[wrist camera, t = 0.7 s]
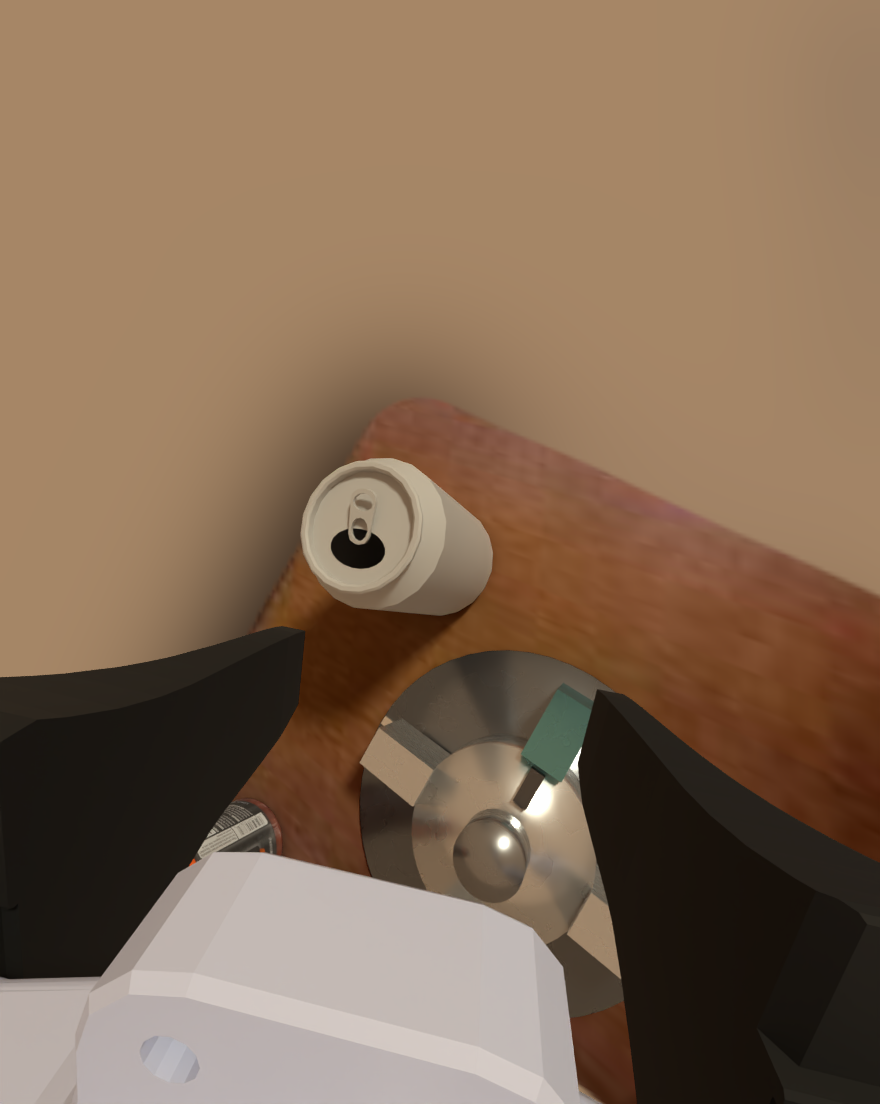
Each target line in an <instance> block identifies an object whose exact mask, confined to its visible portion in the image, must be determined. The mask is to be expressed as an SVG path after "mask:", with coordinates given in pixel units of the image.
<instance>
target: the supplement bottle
mask: <svg viewBox="0 0 880 1104" xmlns="http://www.w3.org/2000/svg"><path fill="white" fill-rule="evenodd" d="M282 848H283V840H282V833H281V828H280V825H279V823H278V820H277V818H276V817H275V815H274V814H273V812H272V811H271V810H270V809H269V807H268V806H266V805H265V804H264V803H262V802H260V801H258V800H255V799H250V798H245V799H240V800H236V801H234V802H231V803H230V804H229V806H228V807H227V808H226V810H225V811H224V812H223V814H222V815H221V817H220V818H219V819H218V821H217V822H216V824H215V825H214V827H213V828H212V830H211V831H210V833H209V834H208V836H207V838H206V839H205V841H204V842H203V844H202V846H201V847H200V849H199V851H198V852H197V854H196V856H195V857H194V859H193V860H192V862H191V864H190V865H189V866H191V865H192V864H194V863H196V862H198V861H199V860H201V859H203V858H204V857H206V856H208V855H209V854H211V853H213V852H267V853H271V854H275V855H279V856H282Z"/></svg>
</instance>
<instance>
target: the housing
mask: <svg viewBox="0 0 880 1104" xmlns="http://www.w3.org/2000/svg"><path fill="white" fill-rule="evenodd" d="M563 683H565V684H566V685H568V686H569V687H571V688H573V689H574V690H576V691H578V692H579V693H581V694H582V695H584V696H586V697H587V698H589V699H590V700H592V701H594V699H595V695H596V691H597V689H599V690H604V691H609V692H614V691H613V690H612V689H611V688H609V687H608V686H606V685H605V684H603V683H602V682H600V681H599V680H597V679H596V678H595V677H593V676H591V675H590V674H588V673H586V672H584V671H582V670H580V669H578V668H576V667H574V666H572V665H570V664H567V663H564V662H562V661H559V660H556V659H554V658H551V657H547V656H543V655H538V654H534V653H530V652H520V651H510V650H506V651H487V652H481V653H475V654H470V655H466V656H463V657H460V658H457V659H454V660H451V661H448V662H446V663H444V664H442V665H440V666H438V667H436V668H434V669H432V670H431V671H429V672H428V673H426V674H425V675H423V676H422V677H420V678H419V679H418V680H416V681H415V682H414V683H413V684H412V685H411V686H410V687H409V688H407V689H406V690H405V691H404V692H403V693H402V694H401V696H400V697H399V698H398V699H397V700H396V701H395V703H394V704H393V705H392V706H391V708H390V709H389V711H388V712H387V714H386V715H385V717H384V719H383V720H382V722H381V723H380V725H379V728H380V727H382V726H385V725H387V724H389V723H392V722H394V721H397V720H399V719H402V718H403V719H404V720H405V721H407V722H408V723H409V724H411V725H412V726H413V727H415V728H416V729H417V730H419V731H420V732H421V733H423V734H424V735H425V736H427V737H428V738H429V739H431V740H432V741H433V742H435V743H436V744H437V745H439V746H440V747H441V748H443V749H444V750H445V751H447V752H448V753H449V754H452V753H453V752H455V751H456V750H457V749H459V748H460V747H462V746H463V745H465V744H466V743H468V742H470V741H472V740H474V739H477V738H480V737H484V736H487V735H495V734H508V735H515V736H520V737H523V738H527V739H529V738H530V737H531V735H532V733H533V731H534V730H535V728H536V726H537V724H538V723H539V721H540V719H541V717H542V716H543V714H544V712H545V710H546V708H547V707H548V705H549V703H550V701H551V700H552V698H553V696H554V694H555V693H556V691H557V689H558V688H559V687H560V686H561V685H562V684H563ZM614 693H616V692H614ZM379 728H378V729H379ZM377 731H378V730H377ZM581 748H582V747H581ZM580 752H581V749H580V751H579V753H578V754H577V756H576V758H575V760H574V761H573V763H572V765H571V767H570V769H571V770H572V771H573V772H574V774H575V775H576V776H577V778H578V779H579V773H578V759H579V756H580ZM414 807H415V805H414V806H413V807H412V806H411V805H410V804H409V803H407V802H406V801H405V800H404V799H403V798H401V797H400V796H399V795H398V794H397V793H395V792H394V791H393V790H392V789H391V788H389V787H388V786H387V785H386V784H385V783H383V782H382V781H381V780H380V779H378V778H377V777H376V776H375V775H374V774H372V773H371V772H370V771H369V770H368V769H366V768H365V767H364V771H363V776H362V783H361V794H360V823H361V831H362V839H363V845H364V849H365V854H366V858H367V862H368V866H369V869H370V872H371V875H372V878H376V879H381V880H385V881H389V882H393V883H397V884H402V885H406V886H410V887H414V888H419V889H423V890H427V889H426V887H425V885H424V883H423V881H422V879H421V876H420V873H419V871H418V868H417V865H416V861H415V857H414V852H413V845H412V817H413V812H414ZM530 856H531V847H530V841H529V838H528V835H527V833H526V831H525V829H524V827H523V826H522V825H521V823H520V822H519V821H518V820H517V819H516V818H515V817H514V816H512V815H511V814H509V813H507V812H505V811H503V810H499V809H485V810H482V811H480V812H478V813H477V814H475V815H474V816H473V817H472V818H471V819H470V821H469V822H468V823H467V825H466V826H465V827H464V829H463V830H462V832H461V833H460V834H459V836H458V837H457V839H456V841H455V844H454V849H453V864H454V869H455V872H456V875H457V877H458V879H459V881H460V883H461V884H462V886H463V887H464V888H465V889H466V890H467V891H468V892H469V893H470V894H471V895H472V896H474V897H475V898H477V899H479V900H481V901H484V902H488V903H500V902H504V901H506V900H508V899H510V898H511V897H513V896H514V895H515V894H516V893H517V891H518V890H519V888H520V886H521V884H522V881H523V879H524V876H525V873H526V870H527V867H528V864H529V861H530ZM596 864H597V865H598V863H597V860H596ZM567 933H568V931H567V932H566V933H564V934H563V935H562V936H560V937H559V938H557V939H555V940H554V941H552V942H550V943H548V944H545V945H546V946H547V947H548V949H549V950H550V951H551V952H552V954H553V955H554V956H555V957H556V959H557V960H558V961H559V963H560V964H561V965H562V966H563V970H564V978H565V986H566V994H567V1002H568V1010H569V1018H571V1017H580V1016H584V1015H588V1014H591V1013H595V1012H599V1011H602V1010H605V1009H607V1008H609V1007H611V1006H613V1005H615V1004H618V1003H620V1002H622V1001H624V996H623V989H622V981H621V979H620V978H619V977H618V976H616V975H615V974H614V973H613V972H612V971H610V970H609V969H608V968H607V967H606V966H604V965H603V964H602V963H601V962H600V961H598V960H597V959H596V958H595V957H593V956H592V955H591V954H590V953H589V952H587V951H586V950H585V949H584V948H583V947H581V946H580V945H579V944H578V943H577V942H575V941H574V940H573V939H572V938H571V937H569V936H568V935H567Z"/></svg>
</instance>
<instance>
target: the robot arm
mask: <svg viewBox="0 0 880 1104" xmlns="http://www.w3.org/2000/svg"><path fill="white" fill-rule="evenodd" d="M304 639H305V631H303V630H298V629H293V628H288V627H283V626H280V627H274V628H270V629H266V630H262V631H259V632H256V633H252V634H249V635H246V636H242V637H240V638H236V639H233V640H229V641H226V642H223V643H220V644H217V645H213V646H209V647H206V648H202V649H198V650H195V651H191V652H187V653H183V654H180V655H176V656H172V657H168V658H164V659H159V660H154V661H149V662H144V663H139V664H133V665H128V666H122V667H115V668H107V669H99V670H91V671H82V672H74V673H66V674H54V675H40V676H21V677H0V1104H602V1103H600V1102H598V1101H596V1100H594V1099H593V1098H591V1097H589V1096H587V1095H586V1094H584V1093H582V1092H580V1091H579V1090H578V1082H577V1074H576V1066H575V1058H574V1050H573V1042H572V1034H571V1026H570V1018H569V1010H568V1002H567V994H566V986H565V978H564V970H563V966H562V965H561V964H560V963H559V961H558V960H557V959H556V957H555V956H554V955H553V954H552V952H551V951H550V950H549V949H548V947H547V946H546V945H545V943H544V942H543V941H542V940H541V938H540V937H539V936H538V935H537V933H536V932H535V931H534V929H533V928H531V927H529V926H528V925H526V924H524V923H522V922H520V921H518V920H516V919H513V918H511V917H509V916H507V915H505V914H503V913H501V912H499V911H496V910H494V909H492V908H490V907H488V906H486V905H484V904H482V903H478V902H473V901H469V900H465V899H461V898H457V897H452V896H448V895H444V894H440V893H435V892H431V891H427V890H423V889H419V888H414V887H410V886H406V885H402V884H397V883H393V882H389V881H385V880H381V879H376V878H372V877H368V876H364V875H360V874H355V873H351V872H347V871H343V870H338V869H334V868H330V867H326V866H322V865H317V864H313V863H309V862H305V861H300V860H296V859H292V858H288V857H284V856H279V855H275V854H271V853H267V852H213V853H211V854H209V855H208V856H206V857H204V858H203V859H201V860H199V861H198V862H196V863H194V864H192V865H191V866H189V865H190V864H191V862H192V860H193V859H194V857H195V856H196V854H197V852H198V851H199V849H200V847H201V846H202V844H203V842H204V841H205V839H206V838H207V836H208V834H209V833H210V831H211V830H212V828H213V827H214V825H215V824H216V822H217V821H218V819H219V818H220V817H221V815H222V814H223V812H224V811H225V810H226V808H227V807H228V806H229V804H230V803H231V802H232V800H233V799H234V798H235V796H236V795H237V794H238V792H239V791H240V790H241V788H242V787H243V786H244V785H245V783H246V782H247V781H248V779H249V778H250V777H251V775H252V774H253V773H254V771H255V770H256V769H257V767H258V766H259V765H260V763H261V762H262V761H263V759H264V758H265V757H266V755H267V754H268V753H269V751H270V750H271V749H272V747H273V746H274V745H275V743H276V742H277V741H278V739H279V738H280V736H281V734H282V733H283V731H284V729H285V727H286V726H287V724H288V722H289V720H290V718H291V717H292V715H293V713H294V711H295V709H296V707H297V705H298V701H299V691H300V680H301V670H302V660H303V650H304ZM578 773H579V783H580V791H581V799H582V805H583V809H584V813H585V817H586V821H587V825H588V829H589V833H590V837H591V841H592V844H593V848H594V852H595V856H596V860H597V863H598V867H599V871H600V875H601V879H602V883H603V886H604V890H605V894H606V898H607V902H608V906H609V911H610V916H611V920H612V925H613V931H614V937H615V943H616V950H617V956H618V962H619V969H620V975H621V981H622V989H623V996H624V1003H625V1010H626V1017H627V1025H628V1032H629V1039H630V1047H631V1055H632V1063H633V1072H634V1080H635V1089H636V1097H637V1104H880V863H879V862H877V861H875V860H872V859H870V858H868V857H866V856H864V855H862V854H860V853H858V852H856V851H854V850H852V849H850V848H848V847H847V846H845V845H843V844H841V843H839V842H837V841H835V840H833V839H831V838H829V837H828V836H826V835H824V834H822V833H820V832H819V831H817V830H815V829H813V828H811V827H810V826H808V825H806V824H804V823H802V822H801V821H799V820H797V819H795V818H793V817H792V816H790V815H788V814H787V813H785V812H783V811H782V810H780V809H778V808H777V807H775V806H773V805H772V804H770V803H769V802H767V801H766V800H764V799H762V798H761V797H759V796H758V795H756V794H755V793H753V792H752V791H750V790H749V789H747V788H745V787H744V786H742V785H741V784H739V783H738V782H736V781H735V780H734V779H732V778H731V777H729V776H728V775H726V774H725V773H724V772H722V771H721V770H720V769H718V768H717V767H716V766H714V765H713V764H712V763H710V762H709V761H707V760H706V759H705V758H703V757H702V756H701V755H699V754H698V753H697V752H696V751H694V750H693V749H692V748H691V747H689V746H688V745H687V744H685V743H684V742H683V741H682V740H680V739H679V738H678V737H677V736H676V735H674V734H673V733H672V732H671V731H669V730H668V729H667V728H666V727H665V726H663V725H662V724H661V723H660V722H659V721H657V720H656V719H655V718H654V717H653V716H651V715H650V714H649V713H648V712H647V711H645V710H644V709H643V708H642V707H640V706H639V705H638V704H637V703H635V702H634V701H633V700H631V699H630V698H628V697H627V696H625V695H624V694H619V693H614V692H609V691H604V690H599V689H597V691H596V695H595V699H594V703H593V706H592V710H591V714H590V718H589V721H588V725H587V729H586V733H585V737H584V740H583V744H582V748H581V752H580V756H579V759H578Z"/></svg>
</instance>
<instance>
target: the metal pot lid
mask: <svg viewBox="0 0 880 1104" xmlns="http://www.w3.org/2000/svg"><path fill="white" fill-rule="evenodd" d="M593 703H594V701H592V700H590V699H589V698H587V697H586V696H584V695H582V694H581V693H579V692H578V691H576V690H574V689H573V688H571V687H569V686H568V685H566V684H565V683H563V684H562V685H561V686H560V687H559V688H558V689H557V691H556V693H555V694H554V696H553V698H552V700H551V701H550V703H549V705H548V707H547V708H546V710H545V712H544V714H543V716H542V717H541V719H540V721H539V723H538V724H537V726H536V728H535V730H534V731H533V733H532V735H531V737H530V738H529V739H527V738H523V737H520V736H515V735H508V734H495V735H487V736H484V737H480V738H477V739H474V740H472V741H470V742H468V743H466V744H465V745H463V746H462V747H460V748H459V749H457V750H456V751H455V752H453V753H452V754H449V753H448V752H447V751H445V750H444V749H443V748H441V747H440V746H439V745H437V744H436V743H435V742H433V741H432V740H431V739H429V738H428V737H427V736H425V735H424V734H423V733H421V732H420V731H419V730H417V729H416V728H415V727H413V726H412V725H411V724H409V723H408V722H407V721H405V720H404V719H403V718H402V719H399V720H397V721H394V722H392V723H389V724H387V725H385V726H382V727H380V728H379V729H378V731H377V732H376V734H375V736H374V738H373V740H372V741H371V743H370V745H369V747H368V749H367V750H366V752H365V754H364V756H363V757H362V759H361V761H360V764H362V765H363V766H364V767H365V768H366V769H368V770H369V771H370V772H371V773H372V774H374V775H375V776H376V777H377V778H378V779H380V780H381V781H382V782H383V783H385V784H386V785H387V786H388V787H389V788H391V789H392V790H393V791H394V792H395V793H397V794H398V795H399V796H400V797H401V798H403V799H404V800H405V801H406V802H407V803H409V804H410V805H411V806H412V807H413V806H414V805H415V807H414V812H413V817H412V845H413V852H414V857H415V861H416V865H417V868H418V871H419V873H420V876H421V879H422V881H423V883H424V885H425V887H426V889H427V891H431V892H435V893H440V894H444V895H448V896H452V897H457V898H461V899H465V900H469V901H473V902H478V903H482V904H484V905H486V906H488V907H490V908H492V909H494V910H496V911H499V912H501V913H503V914H505V915H507V916H509V917H511V918H513V919H516V920H518V921H520V922H522V923H524V924H526V925H528V926H529V927H531V928H533V929H534V931H535V932H536V933H537V935H538V936H539V937H540V938H541V940H542V941H543V942H544V943H545V944H548V943H550V942H552V941H554V940H555V939H557V938H559V937H560V936H562V935H563V934H564V933H566V932H567V931H568V933H567V935H568V936H569V937H571V938H572V939H573V940H574V941H575V942H577V943H578V944H579V945H580V946H581V947H583V948H584V949H585V950H586V951H587V952H589V953H590V954H591V955H592V956H593V957H595V958H596V959H597V960H598V961H600V962H601V963H602V964H603V965H604V966H606V967H607V968H608V969H609V970H610V971H612V972H613V973H614V974H615V975H616V976H618V977H619V978H620V979H621V975H620V969H619V962H618V956H617V950H616V943H615V937H614V931H613V925H612V920H611V916H610V911H609V906H608V902H607V898H606V894H605V890H604V886H603V883H602V879H601V875H600V871H599V867H598V865H597V864H596V856H595V852H594V848H593V844H592V841H591V837H590V833H589V829H588V825H587V821H586V817H585V813H584V809H583V805H582V799H581V791H580V783H579V779H578V778H577V776H576V775H575V774H574V772H573V771H572V770H571V769H570V767H571V765H572V763H573V761H574V760H575V758H576V756H577V754H578V753H579V751H580V749H581V747H582V744H583V740H584V737H585V733H586V729H587V725H588V721H589V718H590V714H591V710H592V706H593ZM485 809H499V810H503V811H505V812H507V813H509V814H511V815H512V816H514V817H515V818H516V819H517V820H518V821H519V822H520V823H521V825H522V826H523V827H524V829H525V831H526V833H527V835H528V838H529V841H530V847H531V856H530V861H529V864H528V867H527V870H526V873H525V876H524V879H523V881H522V884H521V886H520V888H519V890H518V891H517V893H516V894H515V895H514V896H513V897H511V898H510V899H508V900H506V901H504V902H500V903H488V902H484V901H481V900H479V899H477V898H475V897H474V896H472V895H471V894H470V893H469V892H468V891H467V890H466V889H465V888H464V887H463V886H462V884H461V883H460V881H459V879H458V877H457V875H456V872H455V869H454V864H453V849H454V844H455V841H456V839H457V837H458V836H459V834H460V833H461V832H462V830H463V829H464V827H465V826H466V825H467V823H468V822H469V821H470V819H471V818H472V817H473V816H474V815H475V814H477V813H478V812H480V811H482V810H485Z"/></svg>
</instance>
